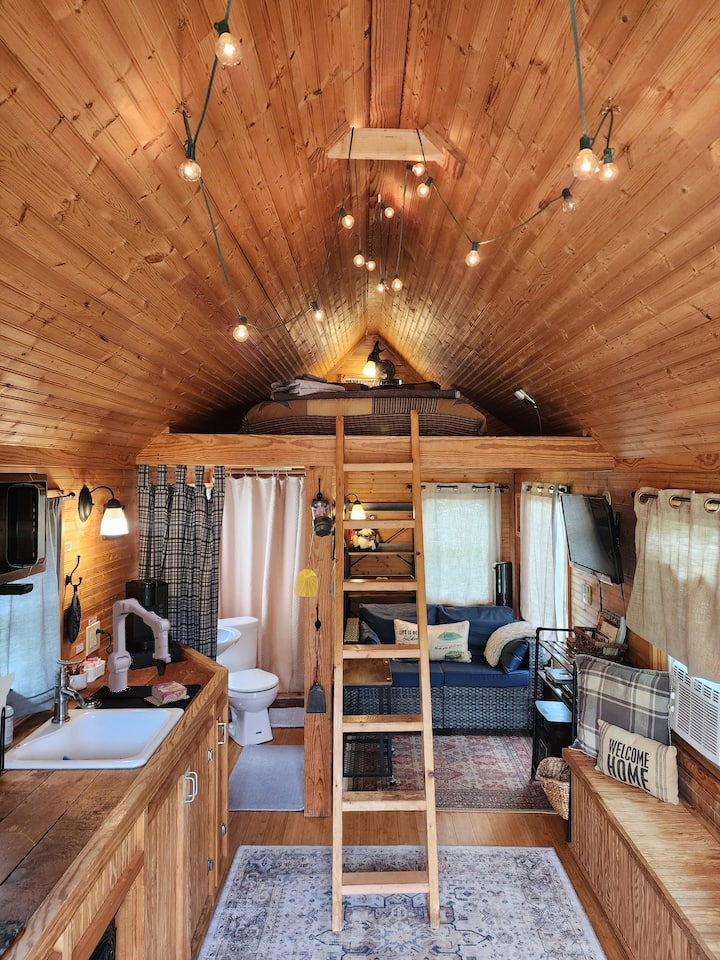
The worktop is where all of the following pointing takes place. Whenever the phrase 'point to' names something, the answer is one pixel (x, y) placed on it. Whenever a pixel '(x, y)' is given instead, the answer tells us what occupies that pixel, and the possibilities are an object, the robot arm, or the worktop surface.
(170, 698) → the candy bar box
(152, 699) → the mat
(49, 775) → the worktop surface
